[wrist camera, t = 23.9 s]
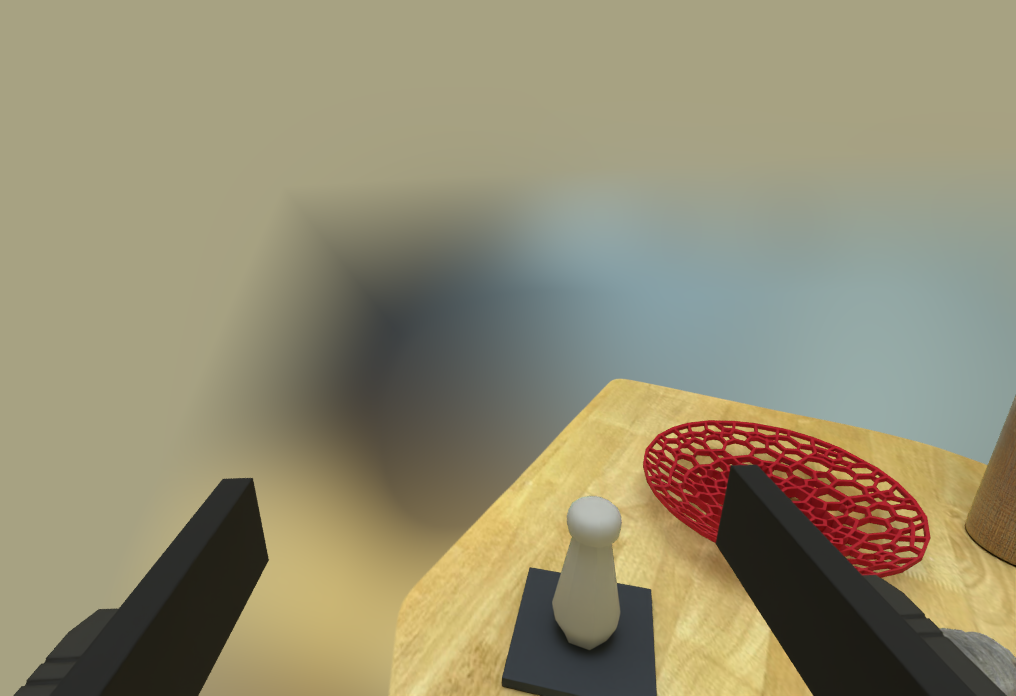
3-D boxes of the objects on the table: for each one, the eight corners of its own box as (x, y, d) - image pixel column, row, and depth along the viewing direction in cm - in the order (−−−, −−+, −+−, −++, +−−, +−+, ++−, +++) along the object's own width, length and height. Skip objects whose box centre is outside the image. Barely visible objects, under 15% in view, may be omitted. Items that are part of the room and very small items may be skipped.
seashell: (804, 647, 40) (877, 590, 37) (918, 669, 44) (995, 620, 40) (857, 740, 35) (949, 685, 31) (981, 757, 39) (1077, 709, 35)
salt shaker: (539, 634, 43) (544, 511, 39) (570, 591, 48) (578, 477, 43) (600, 672, 40) (613, 543, 36) (628, 622, 44) (643, 502, 40)
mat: (501, 686, 40) (501, 677, 40) (529, 574, 51) (529, 567, 50) (656, 722, 37) (657, 713, 37) (650, 596, 48) (651, 588, 48)
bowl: (994, 596, 49) (1013, 555, 47) (721, 638, 44) (731, 595, 42) (788, 442, 76) (795, 413, 74) (606, 458, 71) (608, 427, 70)
